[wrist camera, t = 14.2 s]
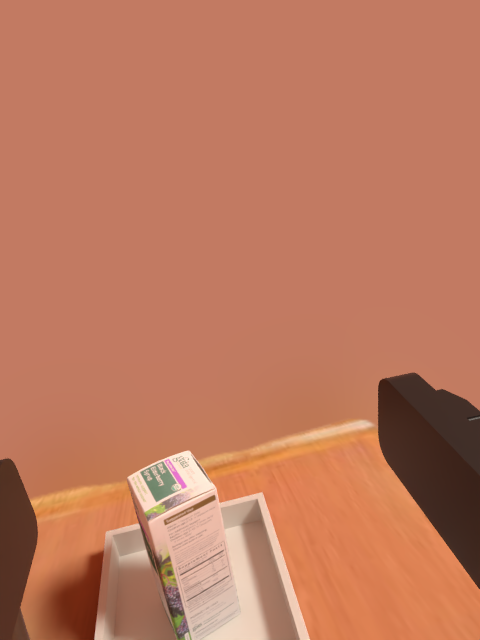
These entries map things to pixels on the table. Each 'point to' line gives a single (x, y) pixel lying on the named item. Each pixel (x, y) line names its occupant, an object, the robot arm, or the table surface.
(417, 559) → the table surface
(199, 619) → the syrup box
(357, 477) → the table surface
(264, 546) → the tray
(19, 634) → the plant pot
